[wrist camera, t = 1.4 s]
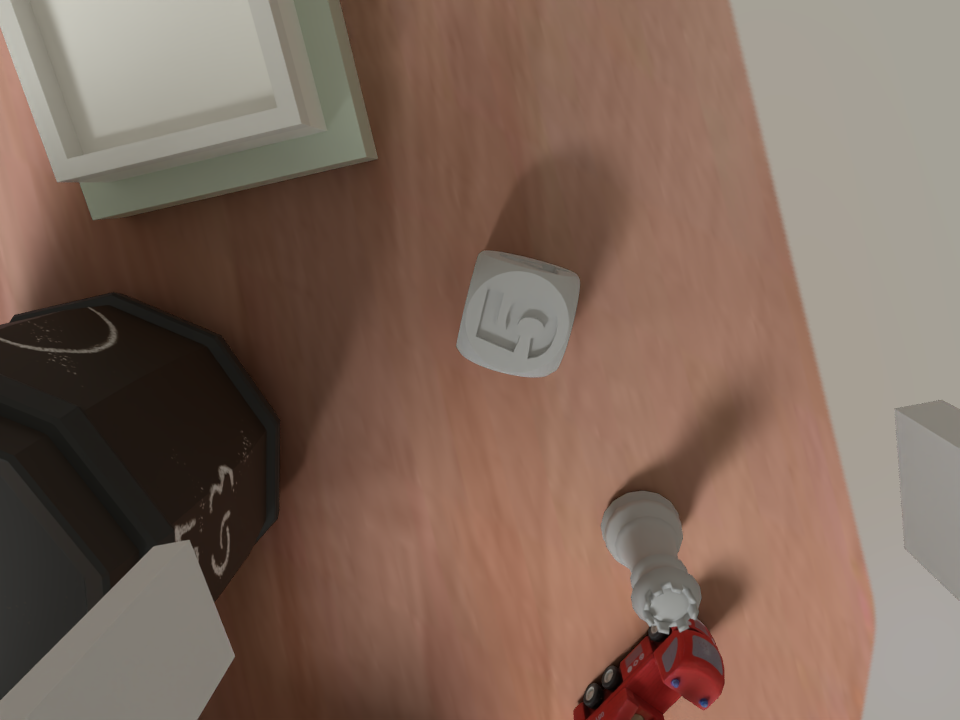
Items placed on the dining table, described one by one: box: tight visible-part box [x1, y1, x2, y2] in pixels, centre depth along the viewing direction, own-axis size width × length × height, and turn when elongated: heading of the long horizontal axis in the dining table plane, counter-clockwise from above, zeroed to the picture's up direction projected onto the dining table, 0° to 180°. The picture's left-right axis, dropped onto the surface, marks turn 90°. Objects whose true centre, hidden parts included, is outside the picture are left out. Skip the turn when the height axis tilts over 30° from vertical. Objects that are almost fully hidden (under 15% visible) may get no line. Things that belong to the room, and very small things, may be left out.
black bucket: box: [0, 292, 280, 700], centre depth 30 cm, size 18×18×16 cm
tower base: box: [0, 0, 378, 220], centre depth 29 cm, size 14×14×7 cm
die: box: [456, 250, 580, 377], centre depth 32 cm, size 5×5×5 cm
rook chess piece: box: [601, 491, 702, 634], centre depth 33 cm, size 4×4×8 cm
